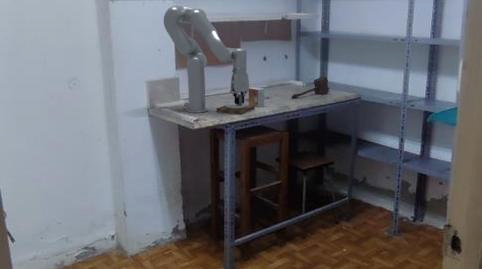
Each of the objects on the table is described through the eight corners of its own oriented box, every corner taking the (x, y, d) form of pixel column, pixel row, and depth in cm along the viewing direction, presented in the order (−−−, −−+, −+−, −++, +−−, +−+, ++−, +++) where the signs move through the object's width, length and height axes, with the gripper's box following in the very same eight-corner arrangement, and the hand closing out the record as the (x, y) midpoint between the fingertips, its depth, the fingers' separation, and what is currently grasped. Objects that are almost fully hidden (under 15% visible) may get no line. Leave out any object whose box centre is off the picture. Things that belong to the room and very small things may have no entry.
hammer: (329, 91, 336) (328, 77, 332) (296, 107, 318) (295, 92, 314) (322, 90, 341) (320, 76, 337) (289, 105, 323) (287, 91, 319)
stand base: (216, 111, 281) (216, 107, 280) (230, 106, 294) (230, 103, 294) (241, 114, 273) (241, 110, 273) (254, 109, 287) (254, 105, 286)
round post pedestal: (223, 108, 278) (223, 95, 276) (227, 104, 290) (226, 91, 288) (245, 109, 277) (244, 95, 275) (247, 104, 288) (247, 92, 287)
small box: (248, 105, 298) (248, 88, 296) (254, 104, 302) (254, 87, 299) (258, 107, 293) (258, 89, 290) (264, 105, 296) (264, 88, 294)
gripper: (232, 72, 267) (232, 106, 272) (255, 70, 278) (254, 102, 282) (223, 71, 272) (223, 104, 277) (246, 69, 283) (245, 100, 288)
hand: (239, 103), depth 280 cm, fingers open, 3 cm apart
